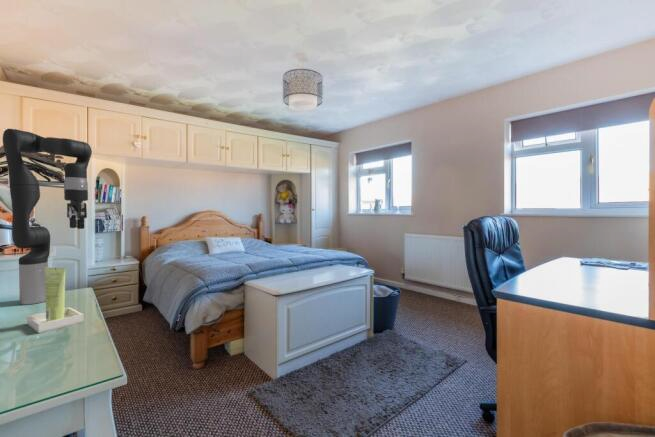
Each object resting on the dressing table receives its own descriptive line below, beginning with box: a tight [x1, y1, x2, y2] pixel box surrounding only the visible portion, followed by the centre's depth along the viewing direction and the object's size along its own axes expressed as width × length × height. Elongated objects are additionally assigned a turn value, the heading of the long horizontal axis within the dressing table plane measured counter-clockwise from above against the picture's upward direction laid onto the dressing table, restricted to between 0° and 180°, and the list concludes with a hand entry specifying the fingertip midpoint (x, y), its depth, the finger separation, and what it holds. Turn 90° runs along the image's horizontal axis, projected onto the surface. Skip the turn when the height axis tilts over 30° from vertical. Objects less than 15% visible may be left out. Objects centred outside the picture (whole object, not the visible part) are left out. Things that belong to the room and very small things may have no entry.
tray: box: [26, 306, 85, 334], centre depth 109 cm, size 14×12×3 cm
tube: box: [45, 266, 67, 322], centre depth 109 cm, size 6×5×20 cm
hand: (77, 228), depth 125 cm, fingers open, 8 cm apart
